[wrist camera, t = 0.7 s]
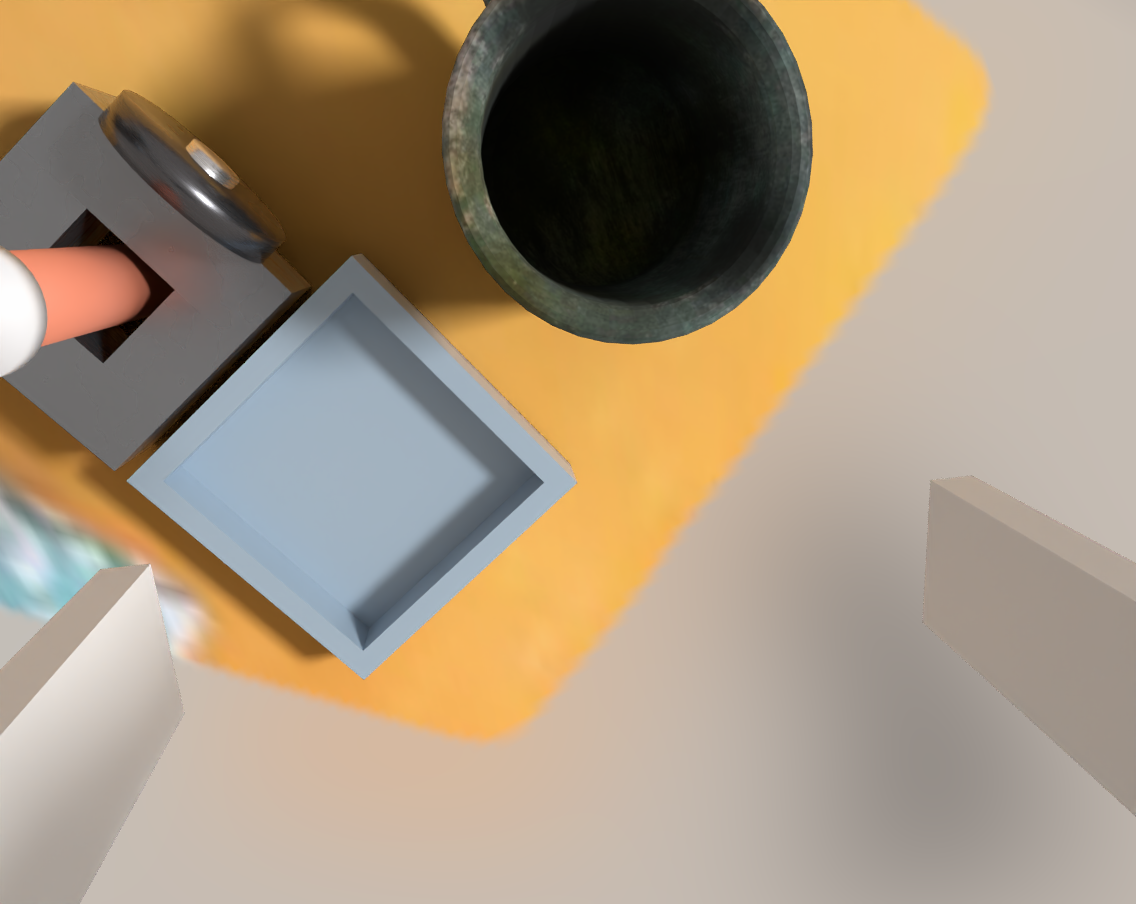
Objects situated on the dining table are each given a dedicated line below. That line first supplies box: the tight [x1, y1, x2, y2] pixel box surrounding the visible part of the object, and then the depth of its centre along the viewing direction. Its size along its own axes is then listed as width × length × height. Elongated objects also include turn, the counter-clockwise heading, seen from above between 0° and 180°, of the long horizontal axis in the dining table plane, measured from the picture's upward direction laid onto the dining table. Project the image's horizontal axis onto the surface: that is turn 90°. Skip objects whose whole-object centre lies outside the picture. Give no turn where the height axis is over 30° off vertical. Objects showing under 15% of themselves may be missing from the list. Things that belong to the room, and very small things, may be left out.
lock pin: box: [0, 244, 174, 377], centre depth 29 cm, size 4×4×13 cm
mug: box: [442, 0, 813, 344], centre depth 30 cm, size 11×15×12 cm
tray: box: [127, 253, 577, 679], centre depth 37 cm, size 13×13×3 cm
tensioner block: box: [0, 82, 311, 471], centre depth 32 cm, size 10×12×8 cm
